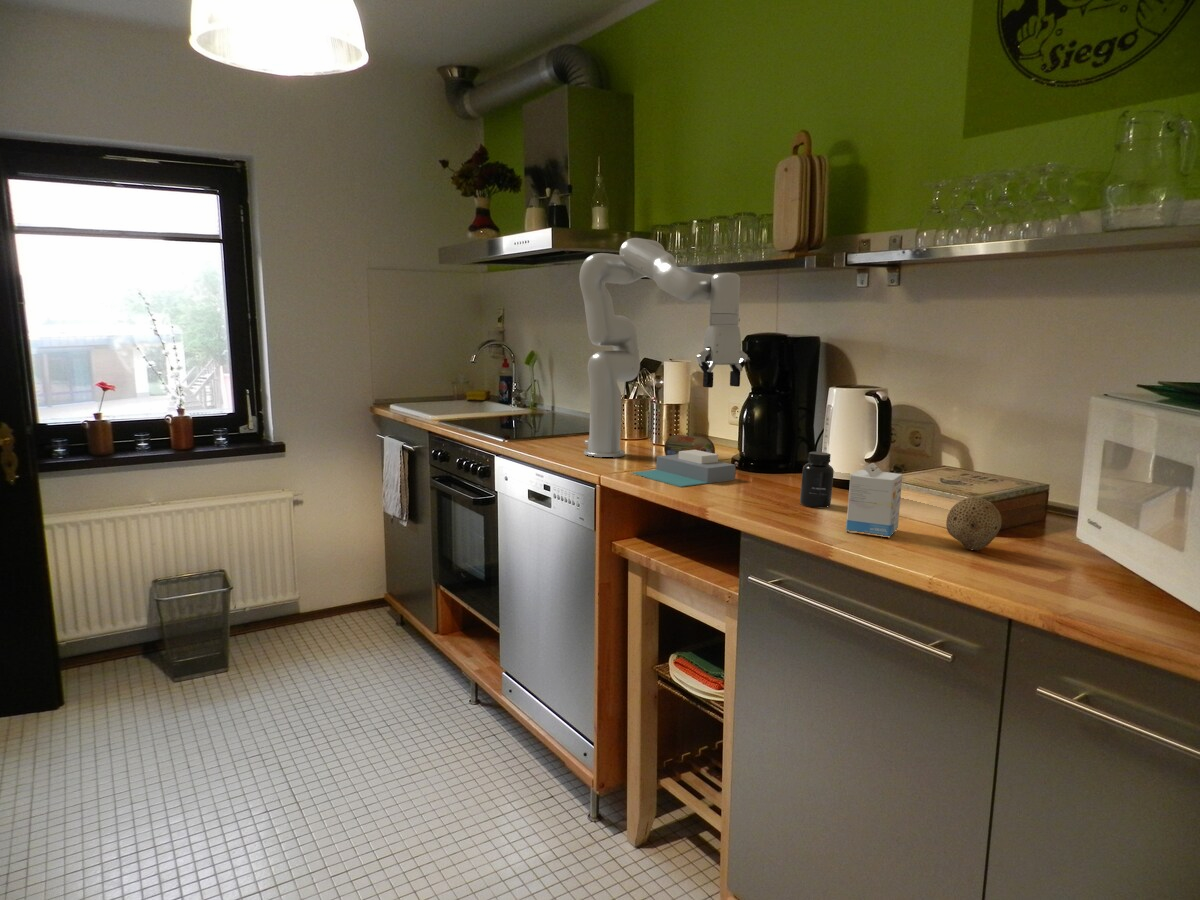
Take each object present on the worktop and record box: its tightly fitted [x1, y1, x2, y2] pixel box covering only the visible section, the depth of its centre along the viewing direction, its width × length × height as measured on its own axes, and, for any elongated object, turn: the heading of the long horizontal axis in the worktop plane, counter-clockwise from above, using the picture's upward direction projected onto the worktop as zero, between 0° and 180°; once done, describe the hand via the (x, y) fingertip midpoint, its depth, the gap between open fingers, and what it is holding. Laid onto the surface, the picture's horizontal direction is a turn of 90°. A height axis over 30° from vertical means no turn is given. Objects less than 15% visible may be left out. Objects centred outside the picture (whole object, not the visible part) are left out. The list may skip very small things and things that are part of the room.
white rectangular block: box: [678, 450, 719, 464], centre depth 208 cm, size 9×6×2 cm, turn 36°
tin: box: [663, 434, 716, 456], centre depth 225 cm, size 15×3×8 cm, turn 62°
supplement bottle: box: [799, 451, 835, 508], centre depth 175 cm, size 7×7×12 cm
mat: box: [631, 469, 707, 488], centre depth 202 cm, size 20×9×1 cm, turn 36°
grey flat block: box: [655, 454, 737, 485], centre depth 207 cm, size 20×10×4 cm, turn 36°
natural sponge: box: [945, 496, 1003, 551], centre depth 141 cm, size 9×9×10 cm
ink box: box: [845, 462, 903, 537], centre depth 153 cm, size 9×8×13 cm
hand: (721, 386), depth 205 cm, fingers open, 9 cm apart
